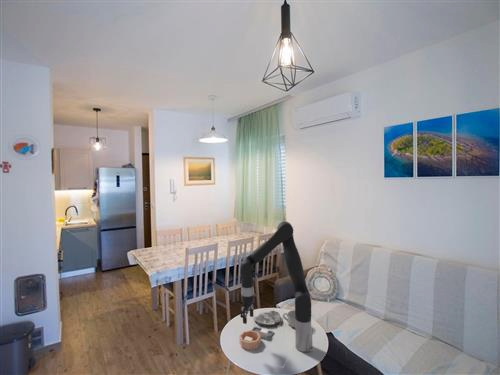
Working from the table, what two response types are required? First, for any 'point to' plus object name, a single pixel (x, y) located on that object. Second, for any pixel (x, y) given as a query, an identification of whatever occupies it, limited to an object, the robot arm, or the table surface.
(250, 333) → the bowl
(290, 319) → the teacup
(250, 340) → the stone
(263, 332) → the stone
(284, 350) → the table surface
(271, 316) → the brain slice
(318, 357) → the table surface
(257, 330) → the tray
